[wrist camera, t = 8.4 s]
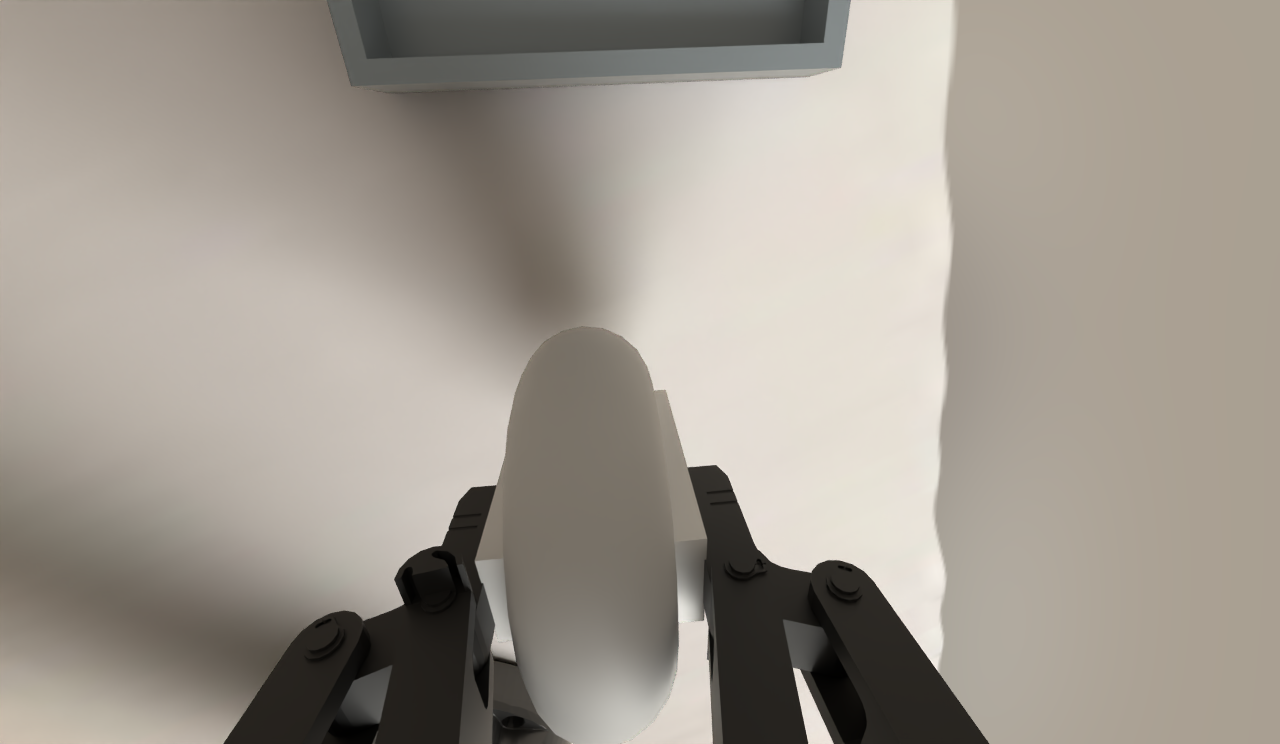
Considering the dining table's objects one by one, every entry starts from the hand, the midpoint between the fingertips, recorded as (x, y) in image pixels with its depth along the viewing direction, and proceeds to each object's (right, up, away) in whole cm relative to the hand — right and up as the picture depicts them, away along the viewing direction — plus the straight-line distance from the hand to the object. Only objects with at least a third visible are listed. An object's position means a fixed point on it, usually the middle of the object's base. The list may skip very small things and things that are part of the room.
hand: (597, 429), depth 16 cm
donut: (0, +1, +1) cm, 1 cm away
